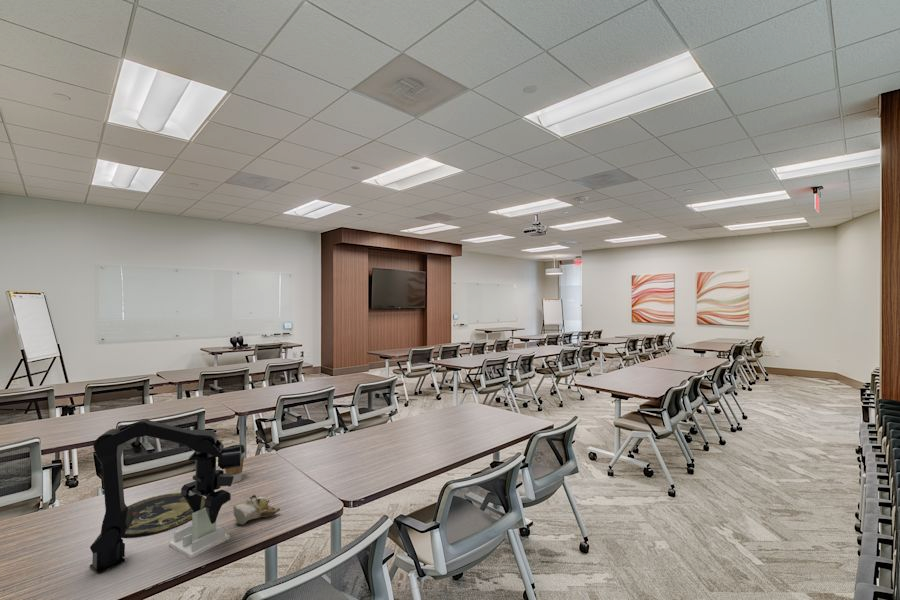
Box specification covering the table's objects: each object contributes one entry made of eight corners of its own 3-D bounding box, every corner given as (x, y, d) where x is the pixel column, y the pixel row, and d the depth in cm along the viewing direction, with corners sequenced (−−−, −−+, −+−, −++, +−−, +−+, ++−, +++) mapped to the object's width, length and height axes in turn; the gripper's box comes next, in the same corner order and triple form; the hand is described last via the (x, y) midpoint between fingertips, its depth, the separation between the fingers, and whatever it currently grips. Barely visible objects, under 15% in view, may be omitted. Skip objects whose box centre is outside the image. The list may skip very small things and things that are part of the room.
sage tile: (196, 547, 124) (197, 515, 124) (191, 544, 125) (192, 513, 126) (216, 538, 129) (216, 507, 129) (210, 535, 131) (211, 505, 131)
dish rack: (191, 558, 120) (191, 545, 120) (169, 545, 127) (169, 533, 127) (229, 538, 131) (229, 526, 131) (207, 527, 137) (207, 516, 137)
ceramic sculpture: (228, 496, 142) (269, 484, 153) (226, 520, 141) (267, 507, 153) (240, 506, 135) (282, 493, 146) (238, 532, 134) (280, 517, 146)
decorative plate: (82, 528, 134) (162, 488, 163) (82, 533, 134) (162, 492, 163) (155, 539, 128) (224, 495, 157) (154, 545, 128) (224, 500, 157)
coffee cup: (218, 483, 172) (219, 448, 172) (234, 475, 180) (234, 442, 180) (233, 485, 169) (234, 450, 170) (248, 477, 177) (249, 444, 178)
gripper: (246, 468, 130) (245, 515, 130) (214, 457, 140) (213, 501, 139) (212, 481, 121) (211, 532, 120) (180, 468, 130) (179, 516, 130)
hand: (205, 519), depth 128 cm, fingers open, 9 cm apart
